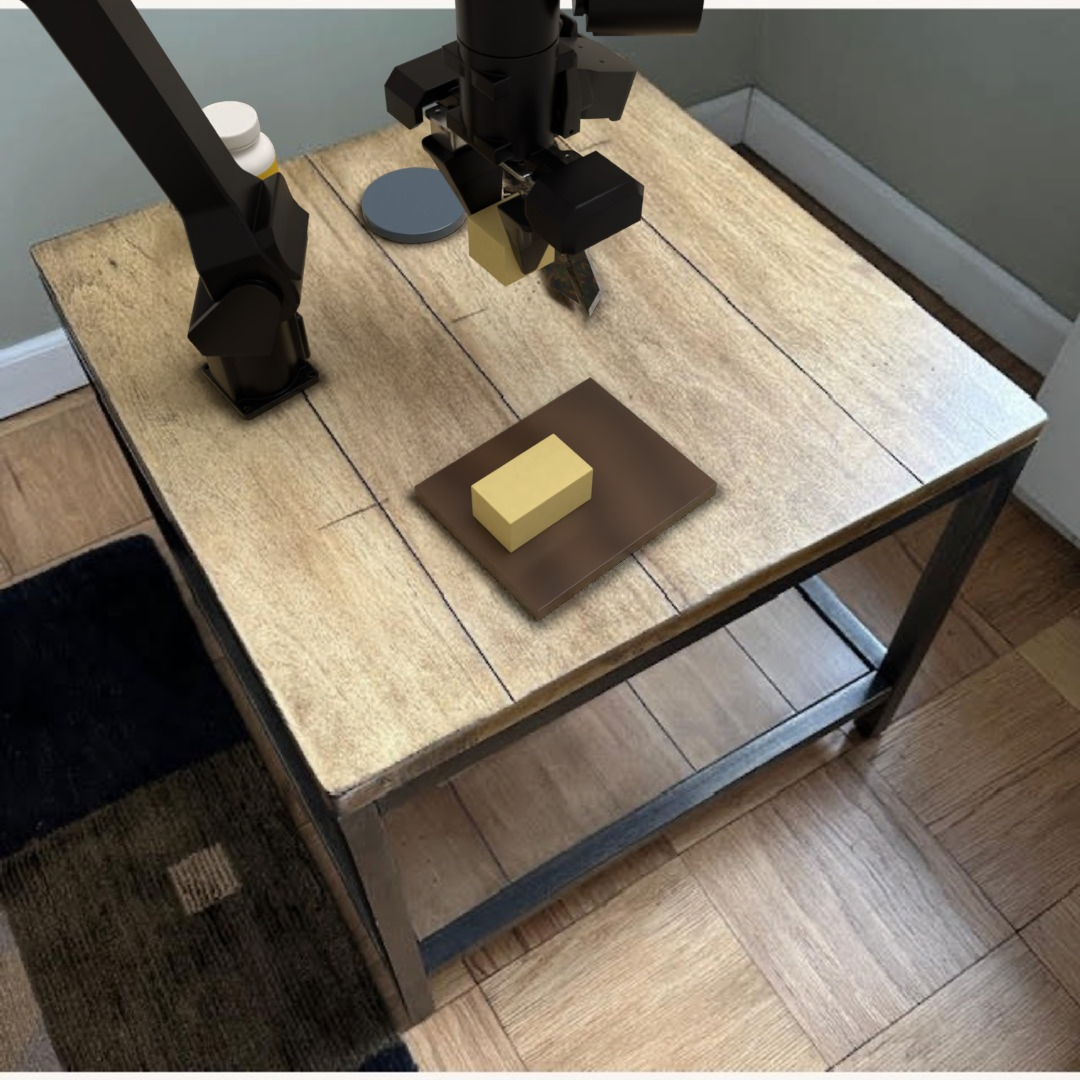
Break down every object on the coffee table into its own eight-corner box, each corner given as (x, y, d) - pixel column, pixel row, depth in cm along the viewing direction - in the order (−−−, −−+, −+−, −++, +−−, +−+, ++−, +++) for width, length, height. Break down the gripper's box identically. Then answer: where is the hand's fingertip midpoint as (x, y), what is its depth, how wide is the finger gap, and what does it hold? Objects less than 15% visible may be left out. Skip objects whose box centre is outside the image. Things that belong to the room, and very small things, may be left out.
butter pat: (505, 287, 72) (504, 248, 69) (468, 255, 74) (466, 216, 71) (554, 261, 74) (555, 222, 71) (517, 231, 75) (517, 192, 73)
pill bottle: (242, 272, 88) (210, 153, 79) (202, 234, 91) (166, 115, 82) (307, 240, 91) (282, 120, 82) (266, 204, 93) (238, 84, 84)
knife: (608, 321, 85) (609, 307, 84) (526, 327, 85) (526, 314, 84) (561, 129, 100) (562, 116, 99) (491, 134, 99) (491, 120, 98)
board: (537, 621, 69) (537, 611, 68) (415, 497, 75) (413, 486, 74) (715, 494, 75) (717, 483, 74) (589, 388, 81) (590, 376, 80)
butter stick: (510, 553, 71) (510, 524, 68) (472, 515, 73) (470, 485, 70) (591, 498, 74) (593, 468, 71) (552, 463, 75) (553, 432, 73)
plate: (404, 258, 89) (403, 248, 89) (341, 204, 93) (340, 194, 93) (490, 213, 93) (490, 203, 92) (426, 163, 97) (425, 153, 96)
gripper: (730, 55, 60) (693, 279, 72) (518, -77, 68) (518, 144, 81) (573, 129, 55) (563, 353, 68) (367, -21, 64) (392, 203, 76)
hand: (509, 254), depth 73 cm, fingers closed on butter pat, 4 cm apart
